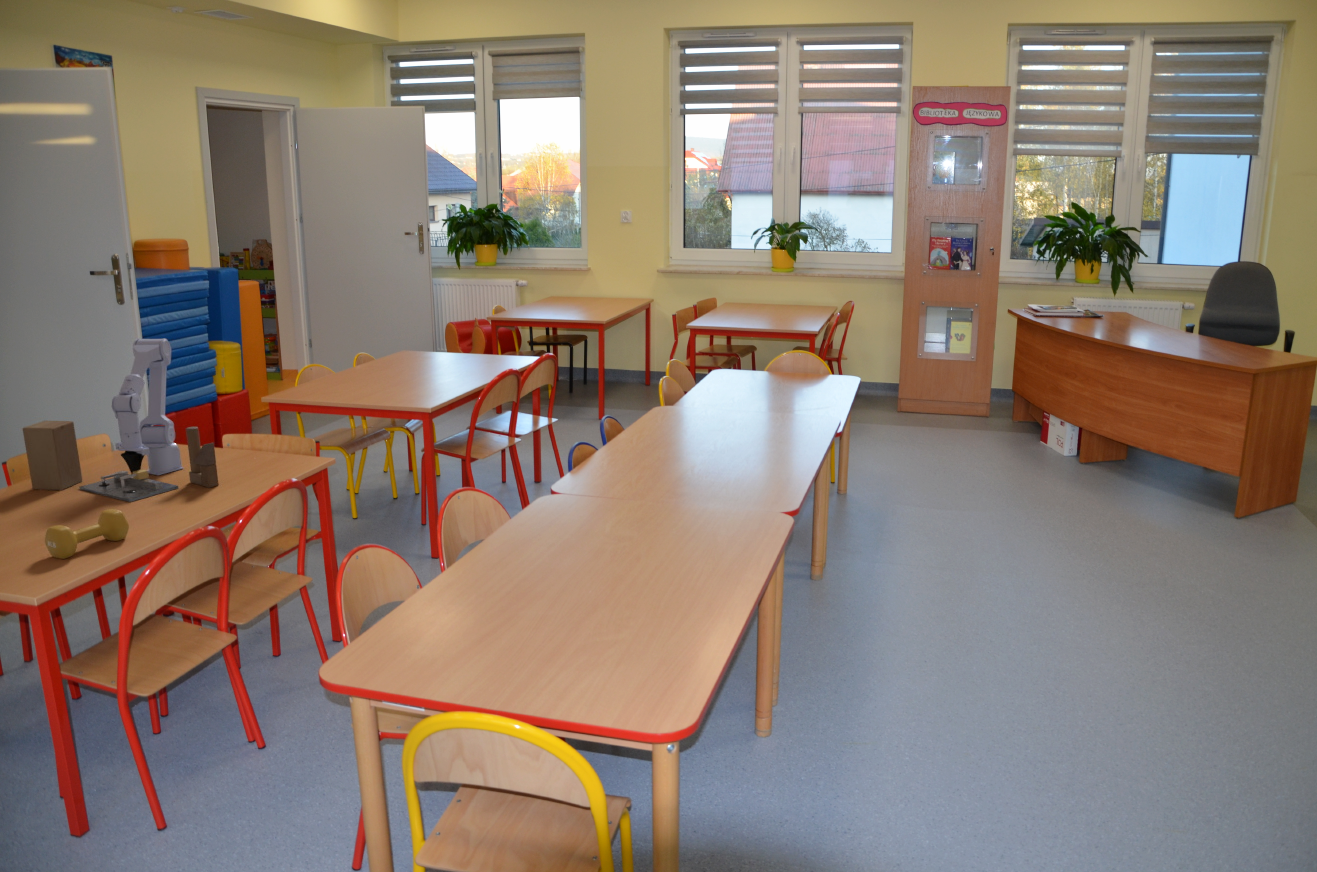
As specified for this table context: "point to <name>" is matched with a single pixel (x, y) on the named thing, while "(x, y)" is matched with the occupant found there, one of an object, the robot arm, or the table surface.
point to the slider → (135, 476)
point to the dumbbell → (86, 533)
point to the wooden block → (52, 455)
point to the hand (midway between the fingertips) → (135, 473)
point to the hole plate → (127, 487)
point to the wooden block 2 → (201, 460)
